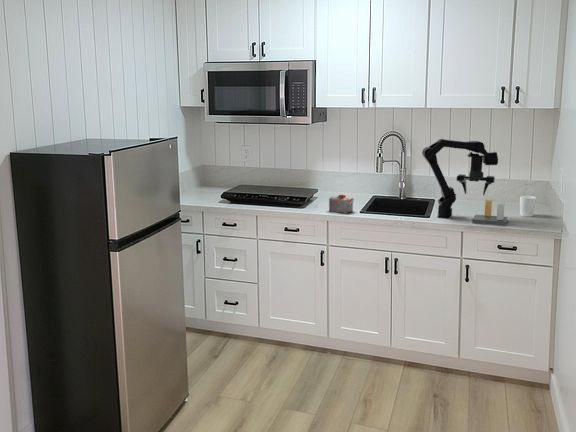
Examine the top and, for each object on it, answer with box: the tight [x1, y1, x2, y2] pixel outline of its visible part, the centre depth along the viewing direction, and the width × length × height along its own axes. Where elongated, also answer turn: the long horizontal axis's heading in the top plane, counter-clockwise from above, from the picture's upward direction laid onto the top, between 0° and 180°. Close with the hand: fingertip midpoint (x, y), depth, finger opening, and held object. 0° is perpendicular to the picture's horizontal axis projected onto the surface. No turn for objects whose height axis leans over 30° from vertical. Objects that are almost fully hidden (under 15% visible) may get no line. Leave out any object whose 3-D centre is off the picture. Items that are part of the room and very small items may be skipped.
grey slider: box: [496, 202, 505, 220], centre depth 295 cm, size 3×4×8 cm
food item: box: [328, 194, 355, 213], centre depth 330 cm, size 14×8×10 cm, turn 64°
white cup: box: [519, 195, 537, 218], centre depth 312 cm, size 8×8×10 cm
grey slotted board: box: [471, 214, 509, 227], centre depth 300 cm, size 16×12×2 cm
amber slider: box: [484, 199, 493, 217], centre depth 303 cm, size 3×4×8 cm
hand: (474, 194), depth 310 cm, fingers open, 9 cm apart
